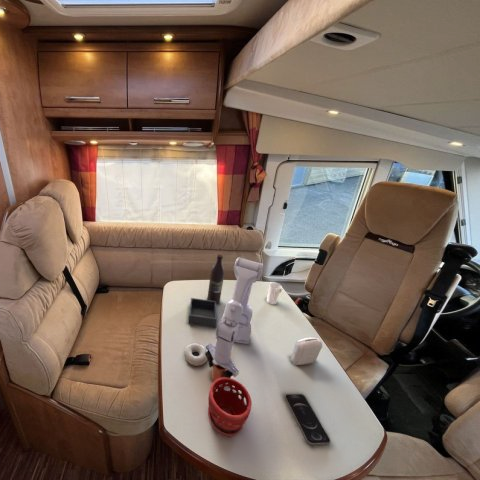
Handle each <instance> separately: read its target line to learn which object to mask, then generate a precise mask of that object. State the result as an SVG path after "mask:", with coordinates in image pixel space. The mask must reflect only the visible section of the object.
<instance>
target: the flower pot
mask: <svg viewBox="0 0 480 480" xmlns="http://www.w3.org/2000/svg"><path fill="white" fill-rule="evenodd" d="M227 387H228V388H229V389H228V390H227V389H225V388H227ZM207 401H208V409H207V416H208V420H209V422H210V424H211V425H212V427H213V428H214V429H215V430H216V432H218V433H219V434H221V435H224V436H227V437H233V436H236V435H238V434H239V433H240V432H241V431H242V430H243V428H244V425H245V424H246V422H247V420H248V418H249V416H250V414H251V411H252V404H253V403H252V398H251V394H250V393H249V391H248V390H247V388H246V387H245V386H244V385H243V384H242V383H241V382H239V381H238V380H236V379H234V378H232V377H231V378H227V377H222V378H218V379H216V380H215V381H213V382H212V383H211V385H210V388H209V392H208V397H207Z"/></svg>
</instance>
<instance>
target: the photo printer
mask: <svg viewBox="0 0 480 480" xmlns="http://www.w3.org/2000/svg"><path fill="white" fill-rule="evenodd" d="M322 348H323V343H322V340H320V338H317V337H305V338H301V339H299V340H297V341H296V342H295V344H294V346H293V350H292V352H291V355H290V361H291V363H293V365H296V366H302V365H308V364H313V363H315V362H316V361H317V359H318V357H319V356H320V355H319V354H320V353H321V349H322Z"/></svg>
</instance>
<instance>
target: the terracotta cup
mask: <svg viewBox="0 0 480 480" xmlns="http://www.w3.org/2000/svg"><path fill="white" fill-rule="evenodd" d="M226 370H227V369H225V368H223V367H222V366H220V365H215V364H214V363H213V366H212V367H211V374H210V378H211V380H212V381H213V382H214V381H215V380H216V379H218V378H222V377H224V374H223V373H224V372H225V371H226Z"/></svg>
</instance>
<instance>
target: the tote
mask: <svg viewBox="0 0 480 480" xmlns="http://www.w3.org/2000/svg"><path fill="white" fill-rule="evenodd" d="M217 310H218V309H217V305H216V301H211V300H207V299H203V298H202V299H201V298H195V297H190V304H189V311H188V312H189V313H188V322H187V323H188V324H190V325H194V326H195V325H196V326H202V327H209V328H215V329H217V322H218V312H217Z"/></svg>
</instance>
